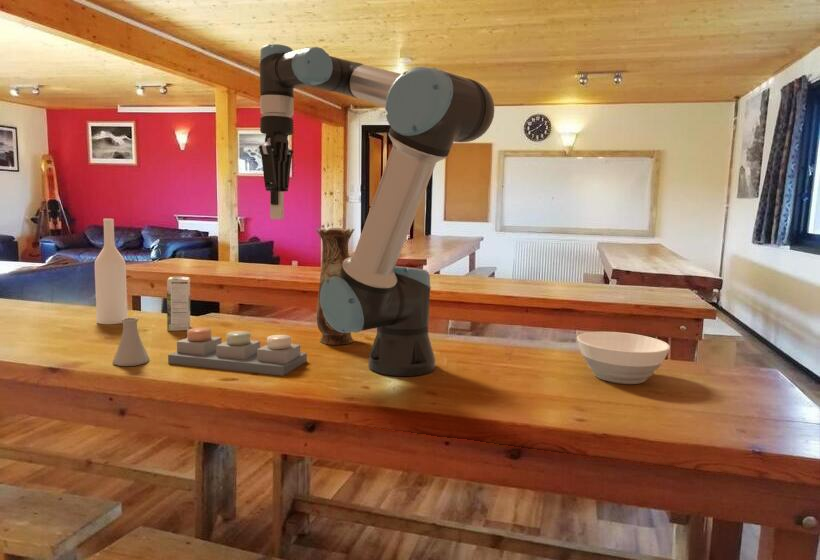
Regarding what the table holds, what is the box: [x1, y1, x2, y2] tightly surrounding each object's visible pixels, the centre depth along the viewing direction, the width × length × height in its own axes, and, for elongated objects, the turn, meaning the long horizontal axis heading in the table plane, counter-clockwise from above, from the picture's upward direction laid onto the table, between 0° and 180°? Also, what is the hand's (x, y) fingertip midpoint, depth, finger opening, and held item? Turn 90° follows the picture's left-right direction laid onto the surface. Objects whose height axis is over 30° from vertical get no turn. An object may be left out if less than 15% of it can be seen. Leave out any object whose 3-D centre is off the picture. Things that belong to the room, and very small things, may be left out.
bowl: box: [576, 331, 671, 385], centre depth 131 cm, size 19×20×8 cm
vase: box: [315, 227, 355, 346], centre depth 155 cm, size 10×11×30 cm
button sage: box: [225, 330, 251, 346], centre depth 134 cm, size 5×5×4 cm
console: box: [167, 336, 308, 377], centre depth 134 cm, size 28×12×4 cm, turn 76°
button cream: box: [266, 334, 292, 350], centre depth 132 cm, size 5×5×4 cm
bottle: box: [94, 218, 129, 325], centre depth 171 cm, size 8×8×30 cm
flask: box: [112, 317, 151, 367], centre depth 131 cm, size 7×7×10 cm
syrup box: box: [166, 276, 191, 332], centre depth 165 cm, size 6×6×14 cm
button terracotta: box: [186, 327, 212, 342], centre depth 136 cm, size 5×5×4 cm
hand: (276, 219), depth 140 cm, fingers closed
